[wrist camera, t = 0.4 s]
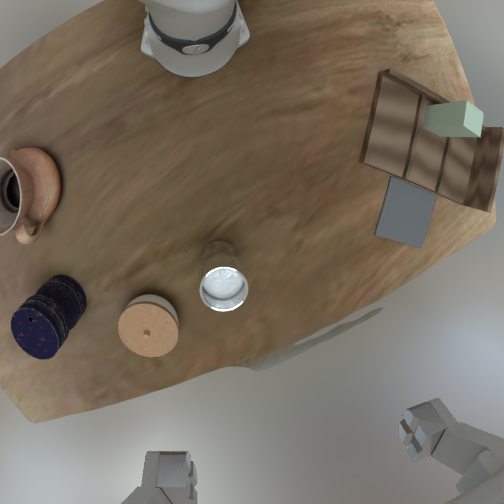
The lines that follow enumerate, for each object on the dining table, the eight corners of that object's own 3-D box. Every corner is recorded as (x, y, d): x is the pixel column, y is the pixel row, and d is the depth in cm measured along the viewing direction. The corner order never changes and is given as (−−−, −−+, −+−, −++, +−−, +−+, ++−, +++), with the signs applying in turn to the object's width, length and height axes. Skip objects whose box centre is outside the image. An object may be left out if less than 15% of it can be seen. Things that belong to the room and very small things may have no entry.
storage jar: (88, 322, 57) (63, 365, 43) (48, 315, 55) (16, 354, 41) (85, 277, 54) (54, 312, 40) (43, 271, 52) (5, 302, 38)
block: (440, 136, 54) (480, 137, 42) (423, 127, 53) (463, 125, 41) (444, 115, 52) (483, 112, 41) (427, 105, 51) (466, 100, 40)
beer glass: (230, 231, 56) (239, 257, 41) (244, 266, 58) (257, 302, 43) (193, 246, 55) (189, 276, 41) (208, 280, 58) (210, 320, 43)
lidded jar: (141, 341, 59) (133, 368, 50) (117, 295, 56) (104, 318, 47) (189, 326, 60) (188, 353, 51) (168, 277, 56) (161, 299, 47)
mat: (420, 248, 62) (421, 248, 62) (374, 234, 60) (375, 235, 59) (435, 195, 59) (436, 195, 59) (390, 176, 57) (391, 176, 56)
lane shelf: (460, 204, 61) (490, 212, 51) (359, 162, 55) (386, 164, 46) (475, 129, 56) (505, 129, 47) (378, 73, 50) (406, 61, 41)
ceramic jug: (-2, 161, 45) (-47, 169, 31) (51, 127, 45) (9, 124, 32) (26, 244, 51) (-12, 269, 37) (81, 217, 51) (46, 238, 38)
